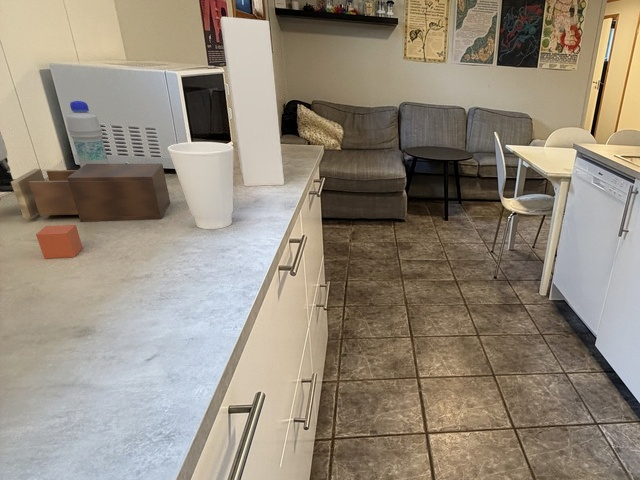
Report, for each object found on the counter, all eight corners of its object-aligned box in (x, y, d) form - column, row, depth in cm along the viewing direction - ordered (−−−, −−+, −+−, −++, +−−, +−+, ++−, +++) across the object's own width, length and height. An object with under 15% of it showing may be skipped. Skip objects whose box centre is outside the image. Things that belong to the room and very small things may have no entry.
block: (44, 258, 80) (35, 234, 78) (53, 249, 84) (45, 225, 82) (75, 257, 82) (67, 233, 80) (83, 247, 85) (75, 224, 83)
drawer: (-17, 219, 92) (-32, 182, 88) (9, 203, 101) (-4, 168, 98) (103, 216, 98) (93, 180, 95) (117, 200, 107) (108, 168, 104)
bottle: (119, 181, 124) (98, 100, 115) (112, 188, 119) (89, 102, 109) (89, 181, 122) (65, 98, 113) (80, 188, 117) (54, 101, 107)
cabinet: (80, 221, 97) (66, 177, 92) (97, 204, 107) (86, 163, 103) (161, 219, 101) (151, 176, 97) (170, 202, 112) (162, 163, 108)
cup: (224, 212, 108) (212, 139, 101) (255, 224, 103) (245, 148, 95) (171, 223, 100) (155, 145, 92) (202, 237, 94) (187, 155, 86)
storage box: (284, 184, 133) (269, 20, 114) (244, 186, 129) (221, 16, 110) (275, 168, 149) (261, 23, 131) (240, 169, 145) (220, 19, 127)
